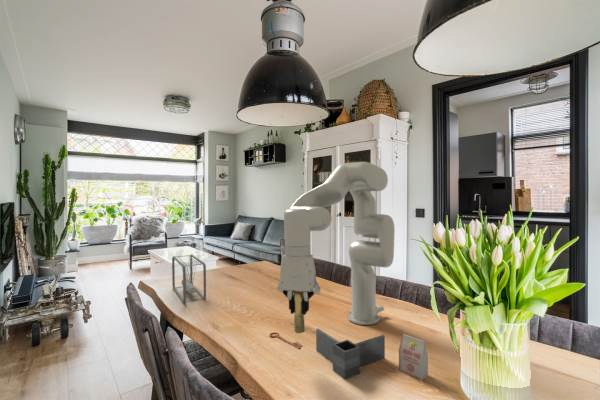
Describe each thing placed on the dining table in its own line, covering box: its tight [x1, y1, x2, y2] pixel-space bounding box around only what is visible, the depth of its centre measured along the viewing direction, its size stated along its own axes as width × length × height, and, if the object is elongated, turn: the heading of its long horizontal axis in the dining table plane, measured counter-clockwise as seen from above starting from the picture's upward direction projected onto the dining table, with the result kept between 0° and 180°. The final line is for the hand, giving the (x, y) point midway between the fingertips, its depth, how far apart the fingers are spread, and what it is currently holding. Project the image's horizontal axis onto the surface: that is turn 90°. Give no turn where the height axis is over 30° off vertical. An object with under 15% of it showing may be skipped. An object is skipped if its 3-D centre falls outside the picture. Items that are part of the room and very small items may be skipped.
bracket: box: [315, 328, 386, 380], centre depth 98 cm, size 17×17×8 cm
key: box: [269, 332, 304, 350], centre depth 109 cm, size 6×1×15 cm
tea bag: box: [398, 333, 429, 381], centre depth 89 cm, size 4×7×10 cm, turn 42°
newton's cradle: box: [171, 253, 207, 304], centre depth 161 cm, size 30×10×18 cm, turn 31°
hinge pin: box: [293, 291, 306, 334], centre depth 93 cm, size 4×4×14 cm
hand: (299, 311), depth 93 cm, fingers closed on hinge pin, 3 cm apart
